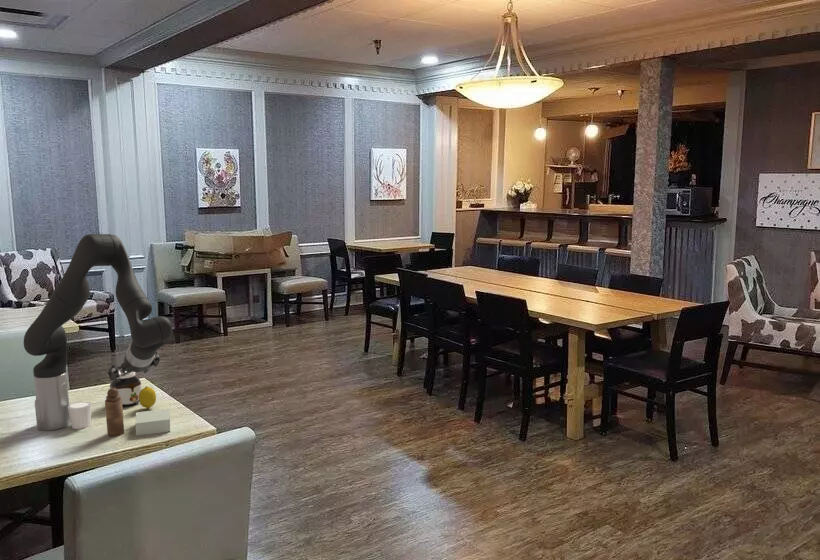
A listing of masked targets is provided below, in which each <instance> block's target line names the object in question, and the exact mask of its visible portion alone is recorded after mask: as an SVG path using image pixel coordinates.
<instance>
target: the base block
mask: <svg viewBox="0 0 820 560" xmlns="http://www.w3.org/2000/svg"><path fill="white" fill-rule="evenodd" d="M168 431H170V432H171V413H170V408H163V409H155V410H146V411H145V410H144V411H140V412H139V411H137V412H136V413H135V436H144V435H151V434H160V433H161V432H162V433H167V432H168ZM168 433H169V432H168Z"/></svg>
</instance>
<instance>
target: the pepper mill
mask: <svg viewBox="0 0 820 560" xmlns="http://www.w3.org/2000/svg"><path fill="white" fill-rule="evenodd" d="M118 393H119V392H118V390H117V389H116V388H111V389H110V388H109V389H108V390H107V392H106V394H107V396H105V400H104V404H105V405H104V406H105V419H106V429H107V430H106V431H107V437H113V438H114V437H120V436H122V435H124V434H125V425H124V410H123V408H124V407H122V398H120V395H119V394H118Z"/></svg>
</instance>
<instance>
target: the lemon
mask: <svg viewBox="0 0 820 560" xmlns="http://www.w3.org/2000/svg"><path fill="white" fill-rule="evenodd" d="M156 401H157V394H156V391H155V389H153V387H150V386H145V387H143V388H142V390H141V391H140V393H139V402H138V403H139V404H140V406H142V407H143V408H146V409H147V410H149V409H150V408H151V407H153V406H154V405H155V404H156Z"/></svg>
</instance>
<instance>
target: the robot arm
mask: <svg viewBox="0 0 820 560" xmlns="http://www.w3.org/2000/svg"><path fill="white" fill-rule="evenodd" d="M74 250H75V251H74V253H73V255H72V258H71V260H70V263H69V265H68V266H67V268H66V270H65V271H64V274H63V276H62V277H61V278H60V281H59V282H58V283H57V285H56V286H55V288H54V290H53V292H52V293H51V296H50V297H49V300H48V301H47V302H46V304H45V306H44V307H43V308H42V310H41V311H40V313H39V314H38V315H37V317H36V318H35V320H33V321H32V324H30V326H29V327H28V328H27V329H26V331H25V333H24V337H23V347H24V350H25V352H26V353H27V354H29V355H31V356H34V357H37V356H44V355H45V356H44V358H43V359H42V360H41V361H40V362H38V363H37V364H35V365H34V367H33V368H32V369H33V370H32V372H33V382H34V383H33V384H34V391H35V392H34V393H35V400H34V408H35V419H36V431H52V430H53V431H54V430H59V429H63V428H65V427H68V426H69V425H71V421H70V416H69V411H68V406H69V405H70V398H69V386H68V374H67V365H68V361H69V360H68V338H67V332H66V330H65V329H64V327H63V325H64V324H66V323H67V322H69V321H70V320H71V319H73V318H74V317H75V316H77V315H78V314H79V313H80V312H81V310H82V309H83V307H84V306H85V305H86V303H87V301H88V300H89V298H90V293H91V292H90V290H91V289H90V285H89V282H88V278H87V275H88V273H89V271H90V270H91V269H92V268H94V267H110V266H111V268H113V270H114V271H115V272H116V274H117V280H116V284H115V285H116V287H115V297H116V300H117V302H118V304H119V306H120V307H121V309H122V311H123V313H124V314H125V316H126V319H127V322H128V325H129V331H130V336H131V339H132V340H131V343H130V344H129V346H128V348H127V351H126V353H125V355H124V356H123V362H122V363H121V364H120V365H118V366H117V365H116V364H112V365H111V366H110V368H109V370H108V372H107V375H108V376H109V380H110V381H112V380H114V382H115V381H116V382H119V381H120V378H121V377H122V376H127V375H128V374H130V373H133V372H135V373H142V372H143V373H144V374H146V373H148V371H149V370H150V369H152V368H153V367H157V366H158V365H159V363H160V361H161V357H160V356H159V353H158V349H159V350H160V348H161V347H163V346H164V345H165V344H167V343H168V342H169V340H170V339H171V337H172V335H173V325H172V321H170V319H169V318H167V317H166V316H164V315H163V316H161V315H158V316H155V317H154V316H153V317H151V318H148V319H147V317H149V316H150V315H151V314H152V312H153V307H152V303H151V302H150V300H149V299H148V297H147V295H146V294H145V292H144V290H143V289H142V287H141V285H140V283H139V281H138V279H137V277H136V274H135V271H134V269H133V266H132V263H131V260H130V258H129V256H128V253H127V250H126V248H125V245H124V243H123V241H122V240H121V239H120V238H119V237H118V236H117V235H115V234H108V233H90V234H89V233H88V234H85V235H83V236H82V237H81V239H80V240H79V242H78V244H77V245H76V247H75V249H74ZM119 371H120V373H121V374H119ZM125 371H127V372H125Z"/></svg>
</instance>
